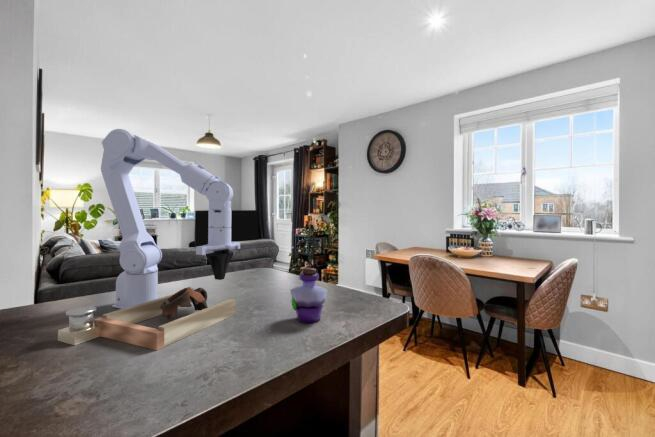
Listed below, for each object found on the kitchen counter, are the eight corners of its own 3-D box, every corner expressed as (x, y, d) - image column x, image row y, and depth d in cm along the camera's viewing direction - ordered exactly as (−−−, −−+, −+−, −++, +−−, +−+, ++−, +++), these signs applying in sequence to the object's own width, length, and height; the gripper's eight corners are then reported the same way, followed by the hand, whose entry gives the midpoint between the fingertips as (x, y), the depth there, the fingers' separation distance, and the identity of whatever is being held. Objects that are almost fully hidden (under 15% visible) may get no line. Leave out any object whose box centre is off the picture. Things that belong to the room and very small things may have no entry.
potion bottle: (282, 319, 71) (282, 267, 71) (309, 311, 78) (309, 263, 78) (307, 329, 66) (308, 273, 65) (334, 319, 72) (335, 268, 72)
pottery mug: (203, 329, 66) (181, 298, 64) (167, 345, 67) (146, 315, 66) (224, 300, 77) (207, 272, 75) (194, 314, 79) (176, 287, 77)
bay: (94, 334, 61) (94, 316, 61) (182, 305, 81) (182, 291, 81) (156, 350, 54) (157, 330, 54) (235, 314, 74) (235, 299, 74)
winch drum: (57, 340, 58) (58, 311, 57) (87, 331, 62) (87, 304, 62) (74, 345, 56) (74, 315, 56) (103, 335, 60) (103, 307, 60)
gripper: (212, 229, 73) (211, 286, 73) (249, 226, 86) (248, 275, 86) (189, 228, 75) (189, 283, 75) (228, 226, 89) (228, 273, 89)
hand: (219, 279), depth 81 cm, fingers closed
